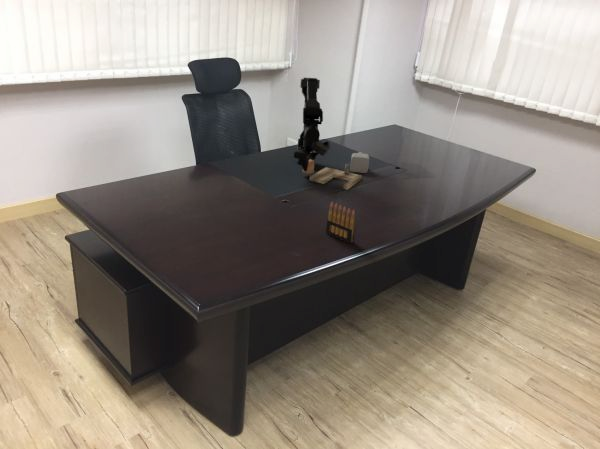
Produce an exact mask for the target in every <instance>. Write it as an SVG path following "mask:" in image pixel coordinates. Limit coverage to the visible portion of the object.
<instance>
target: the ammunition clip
mask: <svg viewBox="0 0 600 449" xmlns="http://www.w3.org/2000/svg"><path fill="white" fill-rule="evenodd" d="M355 215H356V211H355V209H353V210H352V211H351V208H350V207H348V208H347V207H346V206H345V205H344V206H343V208H342V204H339V206H338V203H337V202H336V203H335V204H334V202H333V201H331V203H330V204H329V211H328V215H327V216H328V217H327V218H328V219H327V220H326V225H325V226H326V227H325V234H326V233H327V235H328V234H329V235H328V236H331V237H333V236H334V238H336V237H337V238H336V239H338V238H339V239H338V240H340V239H342V240H341V241H343V240H344V241H343V242H345V241H346V242H345V243H347V242H348V243H347V244H350V243H351V244H353V243H355V230H356V228H355V223H356V221H355V220H356V219H355ZM352 242H353V243H352Z"/></svg>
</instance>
